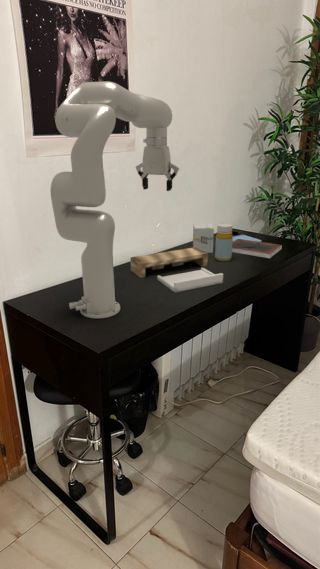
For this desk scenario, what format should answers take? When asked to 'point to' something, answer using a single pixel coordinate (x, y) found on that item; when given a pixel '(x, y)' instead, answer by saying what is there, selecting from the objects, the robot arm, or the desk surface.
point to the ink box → (203, 237)
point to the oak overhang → (167, 260)
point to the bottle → (223, 242)
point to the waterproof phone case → (245, 238)
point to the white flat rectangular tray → (191, 280)
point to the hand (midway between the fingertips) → (157, 189)
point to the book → (255, 248)
